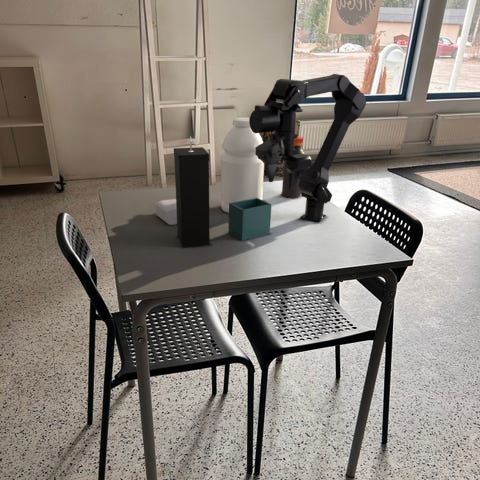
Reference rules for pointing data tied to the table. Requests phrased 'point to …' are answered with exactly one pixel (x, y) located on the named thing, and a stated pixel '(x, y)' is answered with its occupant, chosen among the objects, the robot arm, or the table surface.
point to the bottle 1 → (241, 165)
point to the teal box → (249, 218)
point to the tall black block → (192, 195)
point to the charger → (167, 211)
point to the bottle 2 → (285, 187)
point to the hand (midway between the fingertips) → (280, 186)
